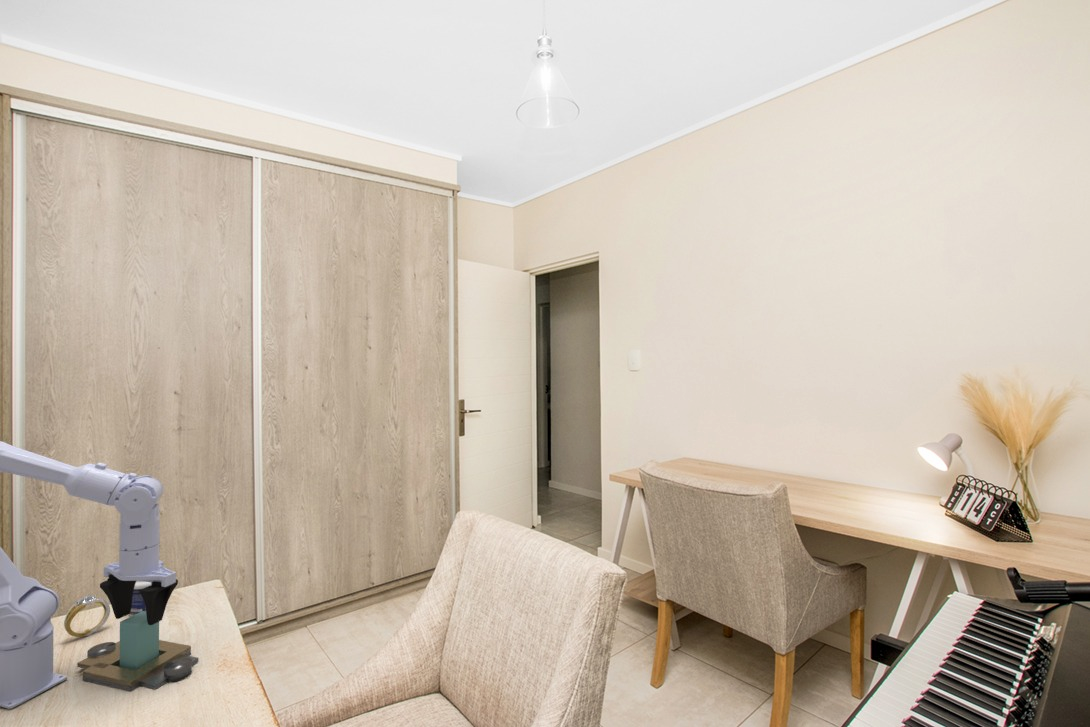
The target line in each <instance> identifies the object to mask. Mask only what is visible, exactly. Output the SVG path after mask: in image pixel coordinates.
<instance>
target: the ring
mask: <svg viewBox="0 0 1090 727" xmlns="http://www.w3.org/2000/svg"><path fill="white" fill-rule="evenodd" d="M93 603H94V604H98V605H101V606H102V608H103V616H102V618H101V620H100V621H99V623H98V624H97V625H96V626H94V627H92V628H91V629H89V628H88V629H85V630H84V631H80V632H79V631H78V632H77V631H74V630H72V627H71V623H72V621H73V619H74V617H75V616H76V615H77V614H79V612H81V611H82V610H83V609H85V608H86V606H89V605H90V604H93ZM109 604H110V603H108V601H107V600H106V599H104V598H97V594H94V596H92V595H91V596H89V594H87V595H85V596H82V597H81V598H80V599H79V600H78V601H77V600H76V601H75V603H74V604H73V605H72V606H71V607H70V608H69V610H68V611H67V612H66V614H65V617H64V621H63V627H64V630H65V631H66V632H67V634H68V635H70V636H72V637H76V638H81V637H89V636H91V635H92V634H94V633H96V632H97V631H99V630H100V629H101V628H103V626H104V625H105V624H106V622H107V621H108V619H109V617H110V613H111V608H110V605H109Z"/></svg>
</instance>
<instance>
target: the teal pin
mask: <svg viewBox="0 0 1090 727" xmlns="http://www.w3.org/2000/svg"><path fill="white" fill-rule="evenodd" d="M159 640H160V621H159V622H157V623H155V624H153V625H148V622H147V615H146V612H145V611H142V612H140V613H138V614H135V615H133V616H131V617H130V616H129V617H127V618H125V619H122V620H121V621H120V622H119V641H120V667H122V668H127V669H131V670H136V669H138V668H140V667H141V666H143V665H145V664H147V663H148V662H150V661H152V660H153V659H155V658H157V657H159Z"/></svg>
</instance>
